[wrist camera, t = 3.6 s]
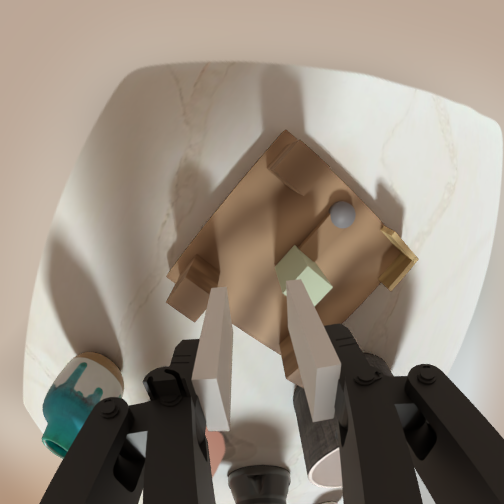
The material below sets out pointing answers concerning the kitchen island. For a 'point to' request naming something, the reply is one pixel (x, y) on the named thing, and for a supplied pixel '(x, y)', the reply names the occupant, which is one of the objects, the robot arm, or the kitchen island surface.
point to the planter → (323, 437)
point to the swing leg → (315, 253)
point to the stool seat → (285, 248)
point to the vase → (78, 398)
